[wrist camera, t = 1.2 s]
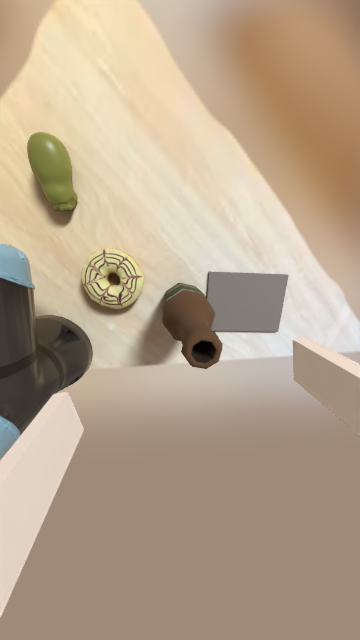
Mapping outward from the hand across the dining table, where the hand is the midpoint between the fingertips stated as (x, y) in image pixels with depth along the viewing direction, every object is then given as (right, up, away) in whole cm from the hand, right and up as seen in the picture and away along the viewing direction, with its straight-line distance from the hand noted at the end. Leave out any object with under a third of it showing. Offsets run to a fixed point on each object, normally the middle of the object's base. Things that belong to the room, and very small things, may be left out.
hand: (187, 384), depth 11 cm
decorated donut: (-13, +12, +27) cm, 32 cm away
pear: (-20, +27, +22) cm, 40 cm away
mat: (+13, +7, +30) cm, 33 cm away
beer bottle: (0, +8, +29) cm, 30 cm away
